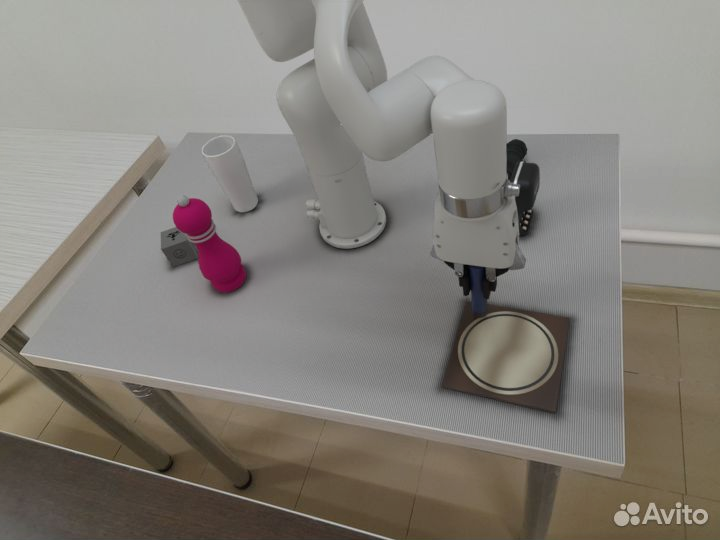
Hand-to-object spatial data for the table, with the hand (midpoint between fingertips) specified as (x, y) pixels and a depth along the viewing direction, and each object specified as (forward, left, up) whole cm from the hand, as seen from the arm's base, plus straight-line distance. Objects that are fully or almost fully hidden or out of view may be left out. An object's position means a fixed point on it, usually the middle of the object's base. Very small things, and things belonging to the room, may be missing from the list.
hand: (478, 289), depth 73 cm
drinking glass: (-52, +18, -7) cm, 56 cm away
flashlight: (-2, +28, -7) cm, 29 cm away
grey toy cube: (-58, +3, -7) cm, 59 cm away
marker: (0, 0, -6) cm, 6 cm away
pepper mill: (-45, -1, -7) cm, 46 cm away
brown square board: (+5, -5, -7) cm, 10 cm away
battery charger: (+3, +21, -7) cm, 23 cm away
